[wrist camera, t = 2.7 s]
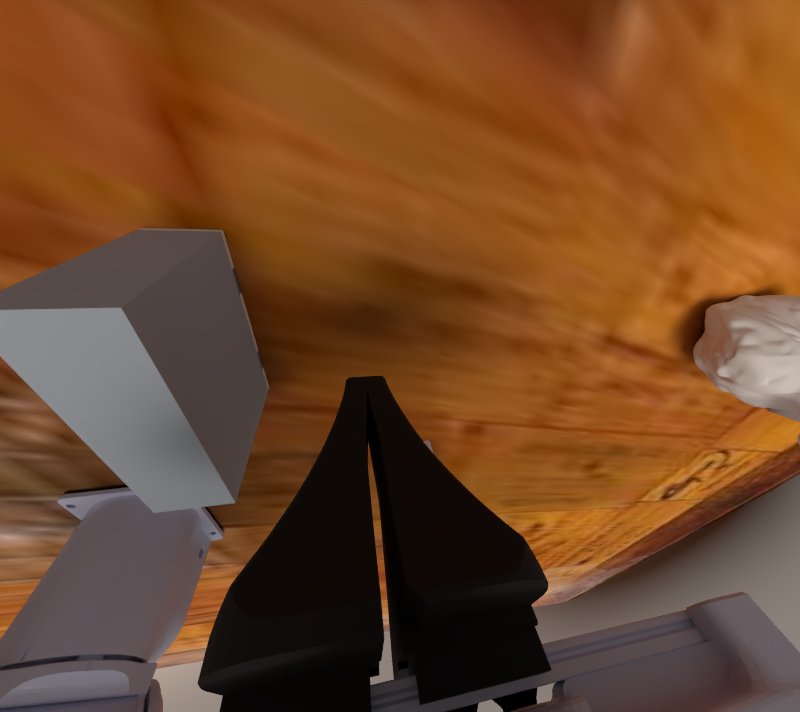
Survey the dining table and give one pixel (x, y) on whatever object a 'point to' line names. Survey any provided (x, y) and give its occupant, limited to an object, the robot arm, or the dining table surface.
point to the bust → (754, 350)
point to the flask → (785, 414)
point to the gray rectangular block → (146, 361)
